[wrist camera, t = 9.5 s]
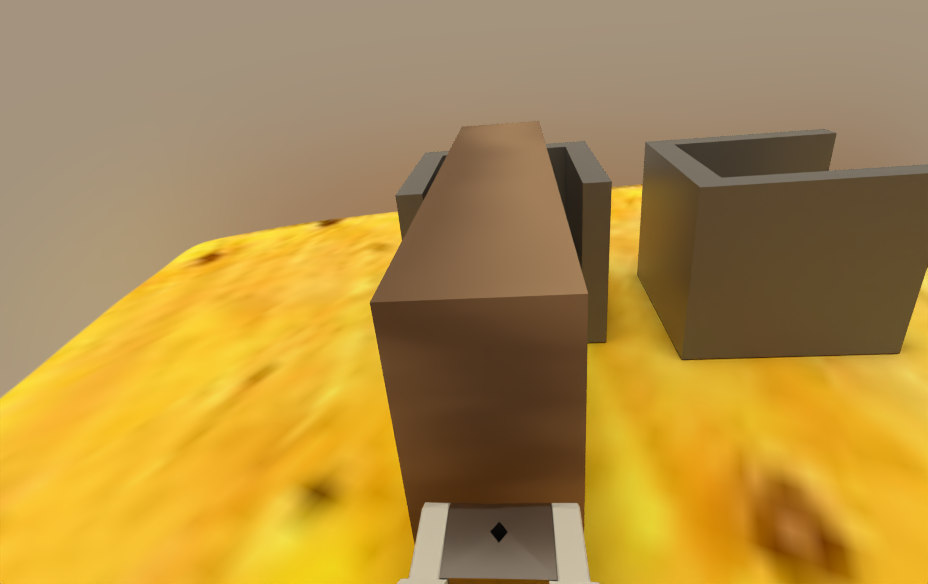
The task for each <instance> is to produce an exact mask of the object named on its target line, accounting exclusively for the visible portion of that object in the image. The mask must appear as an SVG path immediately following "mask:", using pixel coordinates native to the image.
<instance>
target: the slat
mask: <svg viewBox="0 0 928 584" xmlns="http://www.w3.org/2000/svg"><path fill="white" fill-rule="evenodd" d="M370 305H371V311H372V316H373V322H374V327H375V332H376V338H377V343H378V349H379V354H380V360H381V365H382V370H383V376H384V381H385V387H386V392H387V397H388V403H389V408H390V414H391V419H392V424H393V430H394V435H395V441H396V446H397V452H398V457H399V462H400V468H401V473H402V479H403V484H404V489H405V495H406V500H407V506H408V511H409V516H410V522H411V527H412V533H413V538H414V543H416V537H417V532H418V527H419V522H420V516H421V511H422V508H423V506H424V504H425V502H431V503H482V504H500V503H551V504H552V503H578V505H579V507H580V512H581V519H582V526H583V533H584V502H585V446H586V390H587V334H588V291H587V288H586V284H585V281H584V277H583V274H582V270H581V267H580V263H579V260H578V256H577V253H576V249H575V246H574V242H573V239H572V235H571V232H570V228H569V225H568V221H567V218H566V214H565V211H564V207H563V204H562V200H561V197H560V193H559V189H558V186H557V182H556V179H555V175H554V172H553V168H552V165H551V161H550V158H549V154H548V151H547V147H546V144H545V141H544V137H543V133H542V130H541V127H540V123H539V121H532V122H519V123H506V124H493V125H481V126H468V127H462V128H461V130H460V132H459V134H458V135H457V138H456V139H455V141H454V143H453V145H452V147H451V149H450V151H449V153H448V155H447V156H446V158H445V160H444V162H443V164H442V166H441V168H440V170H439V172H438V174H437V176H436V177H435V179H434V181H433V183H432V185H431V187H430V189H429V191H428V193H427V195H426V197H425V198H424V200H423V202H422V204H421V206H420V208H419V210H418V212H417V214H416V216H415V217H414V219H413V221H412V223H411V225H410V227H409V229H408V231H407V233H406V235H405V237H404V238H403V240H402V242H401V244H400V246H399V248H398V250H397V252H396V254H395V256H394V258H393V259H392V261H391V263H390V265H389V267H388V269H387V271H386V273H385V275H384V277H383V279H382V280H381V282H380V284H379V286H378V288H377V290H376V292H375V294H374V296H373V298H372V300H371V301H370Z"/></svg>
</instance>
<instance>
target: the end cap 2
mask: <svg viewBox="0 0 928 584" xmlns="http://www.w3.org/2000/svg"><path fill="white" fill-rule="evenodd" d="M835 138H836V133H835V132H832V131H829V130H825V129H820V130H819V129H818V130H804V131H791V132H777V133H763V134H749V135H736V136H722V137H708V138H694V139H681V140H666V141H652V142H646V143H645V158H644V174H643V190H642V206H641V223H640V239H639V255H638V272H637V275H638V277H639V279H640V281H641V283H642V284H643V286H644V288H645V290H646V292H647V294H648V296H649V298H650V300H651V302H652V304H653V306H654V308H655V309H656V311H657V313H658V315H659V317H660V319H661V321H662V323H663V325H664V327H665V329H666V331H667V333H668V334H669V336H670V338H671V340H672V342H673V344H674V346H675V348H676V350H677V352H678V354H679V356H680V358H681V359H714V358H749V357H784V356H819V355H854V354H888V353H900V350H901V347H902V344H903V341H904V338H905V335H906V332H907V328H908V325H909V322H910V319H911V316H912V313H913V310H914V307H915V304H916V300H917V297H918V294H919V291H920V288H921V285H922V282H923V279H924V276H925V272H926V269H927V266H928V165H912V166H897V167H881V168H865V169H851V170H834V171H829V166H830V161H831V157H832V152H833V147H834V142H835Z"/></svg>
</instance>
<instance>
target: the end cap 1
mask: <svg viewBox="0 0 928 584" xmlns="http://www.w3.org/2000/svg"><path fill="white" fill-rule="evenodd" d="M546 147H547V151H548V154H549V158H550V161H551V165H552V168H553V172H554V175H555V179H556V182H557V186H558V189H559V193H560V197H561V200H562V204H563V207H564V211H565V214H566V218H567V221H568V225H569V228H570V232H571V235H572V239H573V242H574V246H575V249H576V253H577V256H578V260H579V263H580V267H581V270H582V274H583V277H584V281H585V284H586V288H587V291H588V334H587V343H594V342H606V330H607V301H608V273H609V244H610V216H611V187H612V186H611V184H612V181H611V180H610V178H609V177H608V175H607V174H606V172H605V171H604V169H603V168H602V166H601V165H600V163H599V162H598V160H597V159H596V157H595V156H594V154H593V153H592V151H591V150H590V148H589V147H588V145H587V144H586V142H585V141H579V142H565V143H553V144H546ZM448 153H449V151H443V152H429V153H425V154H424V155H423V157H422V158H421V160H420V161H419V163H418V164H417V165H416V167H415V168H414V170H413V171H412V173H411V174H410V176H409V177H408V179H407V180H406V181H405V183H404V184H403V186H402V187H401V189H400V190H399V191H398V193H397V194H396V202H397V208H398V215H399V222H400V229H401V236H402V240H403V238H404V237H405V235H406V233H407V231H408V229H409V227H410V225H411V223H412V221H413V219H414V217H415V216H416V214H417V212H418V210H419V208H420V206H421V204H422V202H423V200H424V198H425V197H426V195H427V193H428V191H429V189H430V187H431V185H432V183H433V181H434V179H435V177H436V176H437V174H438V172H439V170H440V168H441V166H442V164H443V162H444V160H445V158H446V156H447V155H448Z"/></svg>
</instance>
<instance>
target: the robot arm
mask: <svg viewBox="0 0 928 584" xmlns="http://www.w3.org/2000/svg"><path fill="white" fill-rule="evenodd" d="M397 584H600V583H599V582H590V575H589V568H588V561H587V554H586V547H585V540H584V533H583V526H582V519H581V512H580V507H579V505H578V503H552V504H551V503H500V504H482V503H431V502H425V504H424V506H423V508H422V511H421V516H420V522H419V527H418V532H417V537H416V543H415V548H414V553H413V558H412V564H411V569H410V574H409V579H400V580H399V581H398V583H397Z"/></svg>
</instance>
